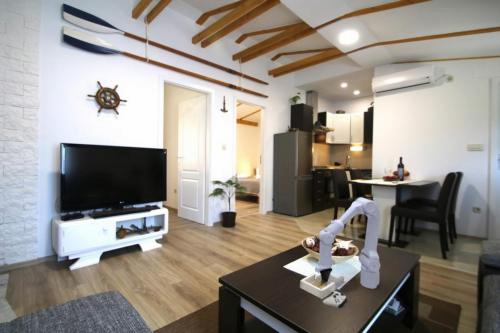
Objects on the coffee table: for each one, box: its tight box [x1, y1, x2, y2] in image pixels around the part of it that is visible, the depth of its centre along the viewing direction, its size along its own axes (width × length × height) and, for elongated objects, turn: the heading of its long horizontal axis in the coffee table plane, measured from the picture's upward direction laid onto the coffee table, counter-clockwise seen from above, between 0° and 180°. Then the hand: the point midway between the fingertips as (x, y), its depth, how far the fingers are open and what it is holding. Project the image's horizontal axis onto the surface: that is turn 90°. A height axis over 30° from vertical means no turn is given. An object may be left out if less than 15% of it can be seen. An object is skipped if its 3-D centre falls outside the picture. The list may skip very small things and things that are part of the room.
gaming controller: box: [322, 290, 348, 309], centre depth 101 cm, size 11×6×7 cm
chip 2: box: [317, 278, 328, 288], centre depth 113 cm, size 4×4×2 cm
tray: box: [299, 273, 336, 300], centre depth 110 cm, size 11×12×4 cm
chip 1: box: [312, 281, 323, 289], centre depth 110 cm, size 4×4×2 cm
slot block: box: [315, 272, 347, 291], centre depth 118 cm, size 11×12×3 cm
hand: (324, 282), depth 115 cm, fingers closed
